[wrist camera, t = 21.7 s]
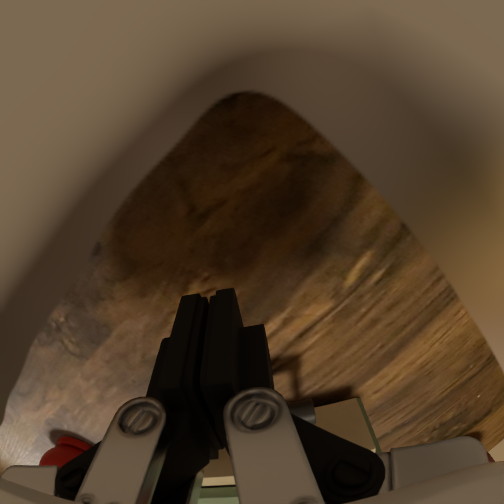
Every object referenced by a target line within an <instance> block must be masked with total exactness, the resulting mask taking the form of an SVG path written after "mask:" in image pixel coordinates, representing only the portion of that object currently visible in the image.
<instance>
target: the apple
mask: <svg viewBox="0 0 504 504" xmlns="http://www.w3.org/2000/svg"><path fill="white" fill-rule="evenodd" d="M91 447H92V446H90V445H89V444H87V443H85V442H83V441H81V440H78V439H75V438H72V437H66V436H65V437H60V438H59V440H58V442H57V444H56V447H54V448H51V449H50V450H48V451H47V452H46V453H45V454H44V455H43V456H42V458H41V460H40V463H39V466H47V465H57V466H59V467H60V468H61V467H62V466H63V465H64V464H66V463H67V462H69V461H70V460H72V459H73V458H75V457H77V456H78V455H80V454H81V453H83V452H84V451H86V450H88V449H89V448H91Z"/></svg>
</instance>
